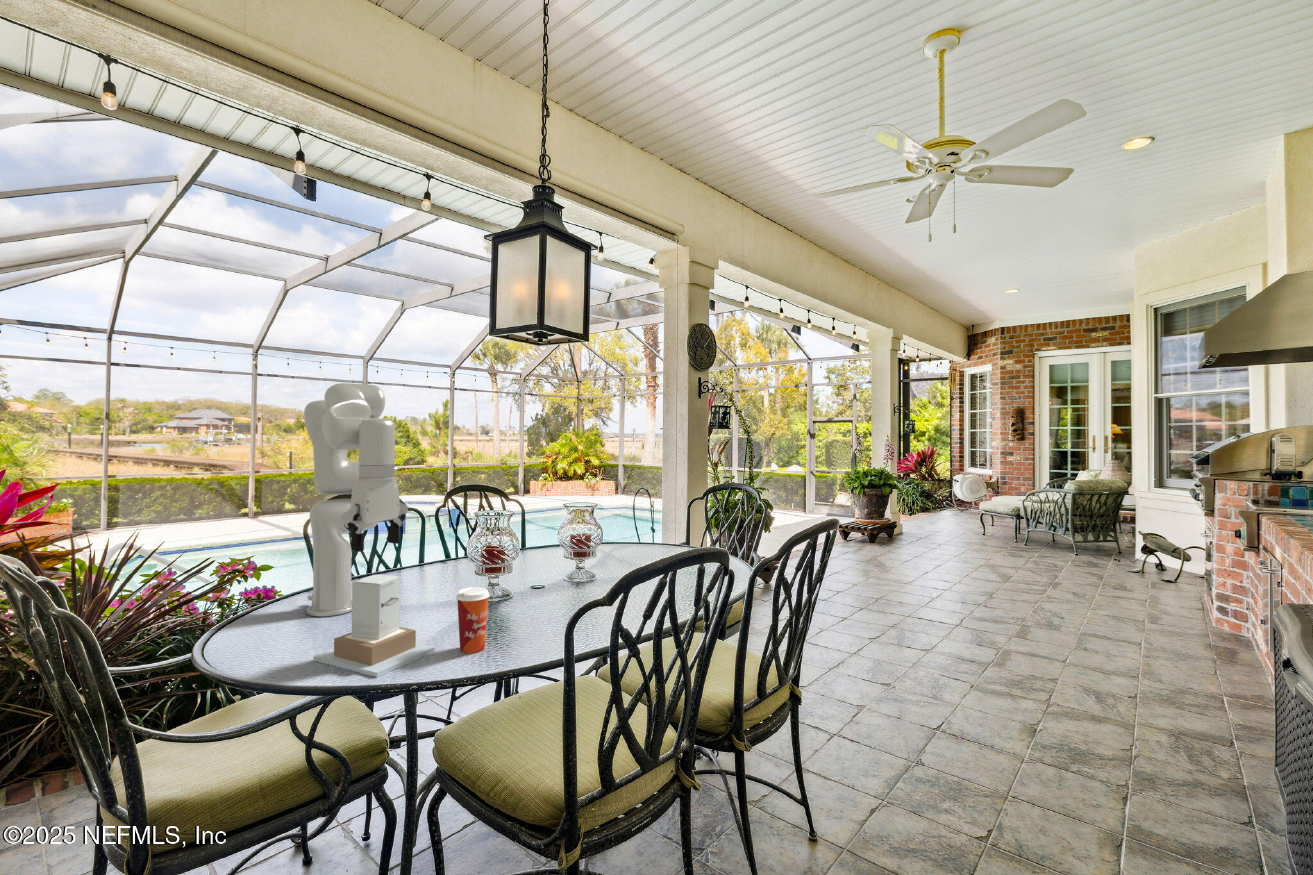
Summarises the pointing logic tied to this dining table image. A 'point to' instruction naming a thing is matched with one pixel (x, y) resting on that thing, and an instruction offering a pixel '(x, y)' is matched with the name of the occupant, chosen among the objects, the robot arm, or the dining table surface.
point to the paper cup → (472, 618)
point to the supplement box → (375, 606)
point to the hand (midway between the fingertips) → (376, 546)
